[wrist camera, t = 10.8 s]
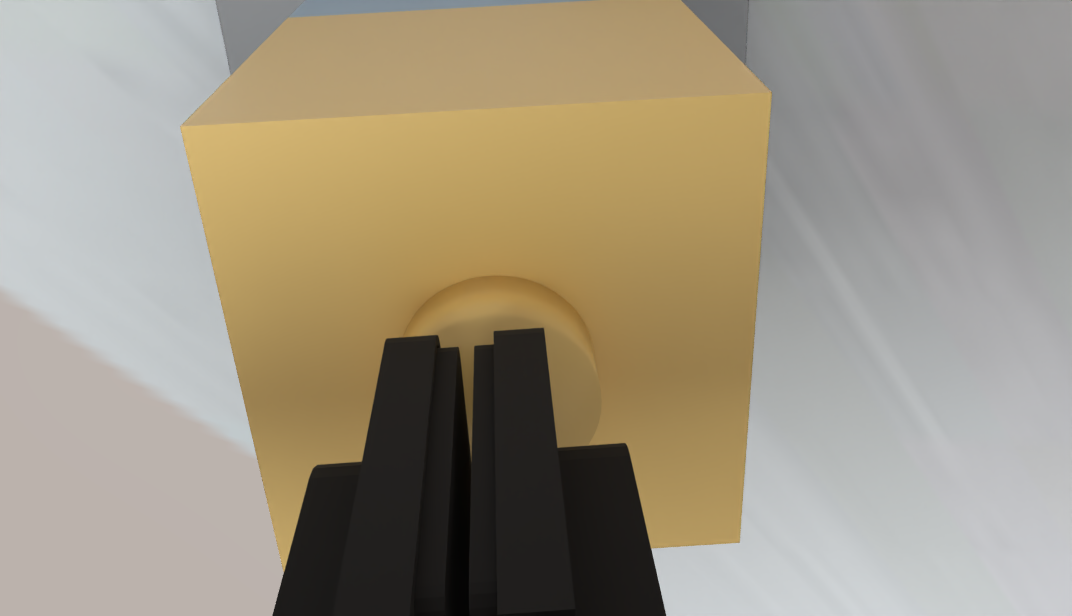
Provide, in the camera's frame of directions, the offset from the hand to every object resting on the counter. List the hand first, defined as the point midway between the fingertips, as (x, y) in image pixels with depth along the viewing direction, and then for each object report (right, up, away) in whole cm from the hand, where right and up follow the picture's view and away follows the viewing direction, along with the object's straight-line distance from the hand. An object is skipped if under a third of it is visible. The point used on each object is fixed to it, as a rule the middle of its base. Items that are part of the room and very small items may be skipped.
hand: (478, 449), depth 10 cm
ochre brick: (0, +4, +7) cm, 8 cm away
